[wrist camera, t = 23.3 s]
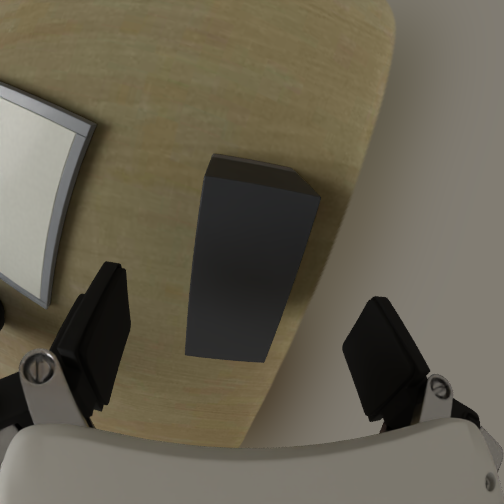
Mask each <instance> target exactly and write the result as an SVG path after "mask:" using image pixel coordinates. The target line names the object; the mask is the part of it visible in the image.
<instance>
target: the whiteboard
mask: <svg viewBox="0 0 504 504" xmlns="http://www.w3.org/2000/svg"><path fill="white" fill-rule="evenodd" d="M96 125H97V124H96V123H94V122H91V121H89V120H87V119H85V118H83V117H81V116H79V115H77V114H74V113H72V112H70V111H68V110H66V109H64V108H61V107H59V106H57V105H55V104H52V103H50V102H48V101H46V100H43V99H41V98H39V97H36V96H34V95H32V94H29V93H27V92H25V91H22V90H20V89H18V88H15V87H13V86H10V85H8V84H5V83H3V82H0V279H2V280H3V281H5V282H6V283H7V284H9V285H10V286H11V287H13V288H14V289H16V290H17V291H19V292H20V293H22V294H23V295H25V296H26V297H28V298H29V299H31V300H32V301H34V302H35V303H37V304H38V305H40V306H42V307H43V308H45V309H47V308H48V307H49V305H50V301H51V292H52V284H53V277H54V270H55V264H56V258H57V252H58V247H59V242H60V237H61V233H62V228H63V224H64V220H65V216H66V212H67V208H68V205H69V201H70V198H71V194H72V191H73V187H74V184H75V181H76V178H77V175H78V172H79V169H80V166H81V163H82V161H83V158H84V155H85V152H86V150H87V147H88V145H89V142H90V140H91V137H92V135H93V132H94V130H95V128H96Z"/></svg>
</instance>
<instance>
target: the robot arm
mask: <svg viewBox="0 0 504 504" xmlns="http://www.w3.org/2000/svg"><path fill="white" fill-rule="evenodd" d="M130 327H131V320H130V312H129V302H128V291H127V278H126V270H125V269H124V268H122V267H121V264H119V263H113V262H107V261H106V262H104V264H103V265H102V267H101V268H100V270H99V272H98V273H97V275H96V277H95V278H94V280H93V281H92V283H91V285H90V286H89V288H88V290H87V292H86V293H85V294H80V295H79V296H78V298H77V299H76V301H75V303H74V305H73V306H72V308H71V310H70V312H69V313H68V315H67V317H66V319H65V321H64V323H63V324H62V326H61V328H60V330H59V332H58V334H57V336H56V338H55V340H54V342H53V344H52V346H51V348H50V350H47V349H40V348H39V349H34V350H32V351H30V352H28V353H27V354H26V355H25V356H23V358H22V360H21V361H20V365H19V372H17V373H14V374H12V375H9V376H7V377H5V378H2V379H0V465H1V463H2V462H3V463H2V466H1V470H0V504H504V496H503V491H502V487H501V484H500V480H499V476H498V470H499V468H500V465H501V462H502V459H503V451H502V448H501V446H500V445H499V444H498V443H497V442H496V441H495V439H494V438H493V437H492V436H491V435H489V433H488V432H487V431H486V430H485V429H484V428H483V427H482V426H481V427H480V421H479V417H478V415H477V413H476V412H474V411H473V410H472V409H470V408H468V407H467V406H465V405H463V404H462V403H460V402H459V401H457V400H455V399H454V398H453V390H452V387H451V385H450V383H449V382H448V380H447V379H446V378H444V377H443V376H441V375H438V374H433V375H431V376H430V377H429V378H428V379H427V377H426V375H427V374H428V373H429V372H430V369H429V367H428V365H427V364H426V362H425V360H424V358H423V356H422V354H421V353H420V351H419V349H418V347H417V346H416V344H415V342H414V340H413V339H412V337H411V335H410V334H409V332H408V330H407V329H406V327H405V326H404V324H403V322H402V320H401V319H400V317H399V315H398V314H397V312H396V311H395V309H394V307H393V306H392V304H391V303H390V301H389V300H388V299H387V298H386V297H378V296H375V297H373V298H372V299H371V300H369V301H368V302H367V304H366V306H365V308H364V309H363V311H362V313H361V315H360V316H359V318H358V320H357V321H356V323H355V325H354V327H353V328H352V330H351V332H350V333H349V335H348V336H347V338H346V340H345V341H344V343H343V347H342V350H343V353H344V356H345V359H346V361H347V364H348V367H349V370H350V372H351V375H352V378H353V381H354V384H355V387H356V389H357V392H358V395H359V398H360V401H361V404H362V407H363V410H364V413H365V415H367V416H368V418H369V421H370V422H373V421H378V420H381V419H382V418H383V419H384V423H383V425H382V428H381V430H380V433H379V434H376V435H371V436H366V437H361V438H356V439H351V440H344V441H338V442H332V443H324V444H316V445H307V446H294V447H281V448H280V447H279V448H222V447H206V446H195V445H185V444H177V443H169V442H162V441H155V440H149V439H143V438H138V437H133V436H128V435H123V434H119V433H114V432H109V431H104V430H99V429H96V428H95V426H94V424H93V422H92V421H91V419H90V416H92V414H93V410H94V409H95V410H98V411H102V409H103V405H108V403H109V401H110V397H111V393H112V389H113V385H114V382H115V378H116V374H117V371H118V367H119V364H120V361H121V357H122V354H123V351H124V348H125V344H126V341H127V338H128V335H129V332H130Z"/></svg>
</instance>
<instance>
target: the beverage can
mask: <svg viewBox="0 0 504 504" xmlns="http://www.w3.org/2000/svg"><path fill="white" fill-rule="evenodd" d="M4 323H5V318H4V309H3V306H2V303H1V301H0V330H1V329H2V327H3V326H4Z"/></svg>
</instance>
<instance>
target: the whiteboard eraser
mask: <svg viewBox="0 0 504 504" xmlns="http://www.w3.org/2000/svg"><path fill="white" fill-rule="evenodd" d="M320 200H321V197H320V196H319V195H318V194H317V193H316V192H315V191H314V190H313V189H312V188H311V187H310V186H309V185H308V184H307V183H306V182H305V181H304V180H303V179H302V178H301V177H300V176H299V175H298V174H297V173H296V172H295V171H294V170H293V169H292V168H289V167H284V166H280V165H275V164H270V163H265V162H260V161H255V160H249V159H244V158H238V157H232V156H226V155H220V154H213V155H212V158H211V160H210V163H209V165H208V168H207V170H206V173H205V176H204V181H203V187H202V194H201V201H200V208H199V215H198V222H197V230H196V238H195V246H194V255H193V264H192V273H191V283H190V293H189V305H188V317H187V330H186V345H185V355H187V356H195V357H203V358H212V359H222V360H233V361H246V362H262V363H264V362H265V359H266V357H267V354H268V351H269V349H270V346H271V344H272V341H273V338H274V336H275V333H276V330H277V328H278V325H279V322H280V320H281V317H282V314H283V311H284V309H285V306H286V303H287V300H288V297H289V295H290V292H291V289H292V286H293V283H294V280H295V277H296V274H297V272H298V269H299V266H300V263H301V260H302V257H303V254H304V251H305V248H306V244H307V241H308V238H309V235H310V232H311V229H312V226H313V222H314V219H315V216H316V213H317V210H318V206H319V203H320Z"/></svg>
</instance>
